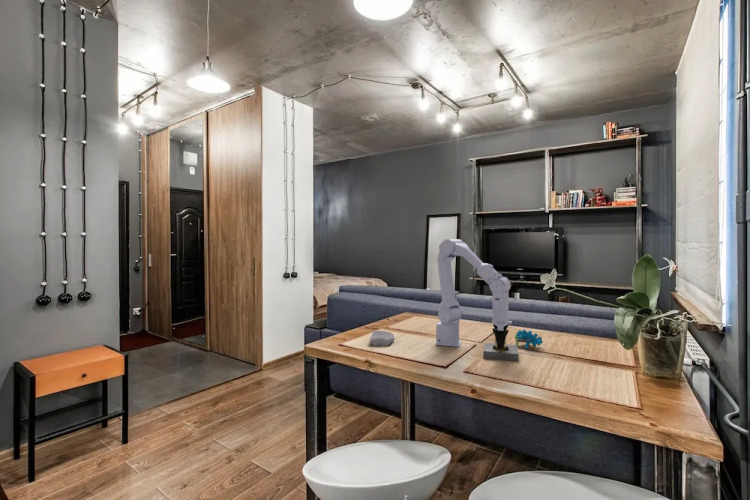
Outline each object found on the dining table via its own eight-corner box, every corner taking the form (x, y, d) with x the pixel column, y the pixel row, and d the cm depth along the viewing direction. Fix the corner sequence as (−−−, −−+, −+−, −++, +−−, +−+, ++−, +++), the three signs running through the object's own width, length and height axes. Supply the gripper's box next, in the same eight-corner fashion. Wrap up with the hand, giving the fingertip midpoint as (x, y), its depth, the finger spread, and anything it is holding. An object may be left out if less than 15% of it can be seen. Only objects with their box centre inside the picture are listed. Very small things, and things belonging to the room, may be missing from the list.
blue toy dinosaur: (547, 343, 144) (536, 328, 140) (543, 356, 141) (531, 341, 137) (522, 341, 153) (510, 327, 149) (517, 353, 150) (506, 339, 146)
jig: (483, 358, 132) (483, 351, 132) (484, 348, 144) (484, 342, 144) (518, 361, 128) (518, 354, 128) (517, 351, 140) (517, 345, 140)
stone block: (393, 343, 161) (372, 338, 162) (395, 332, 160) (373, 327, 161) (391, 352, 149) (368, 346, 150) (394, 341, 149) (370, 335, 150)
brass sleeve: (495, 356, 135) (495, 337, 135) (494, 352, 139) (494, 334, 138) (506, 356, 134) (506, 338, 134) (505, 353, 138) (505, 335, 137)
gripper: (512, 313, 128) (512, 351, 128) (511, 306, 141) (511, 341, 142) (491, 312, 130) (491, 349, 130) (492, 305, 144) (492, 339, 144)
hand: (500, 345), depth 136 cm, fingers open, 7 cm apart
